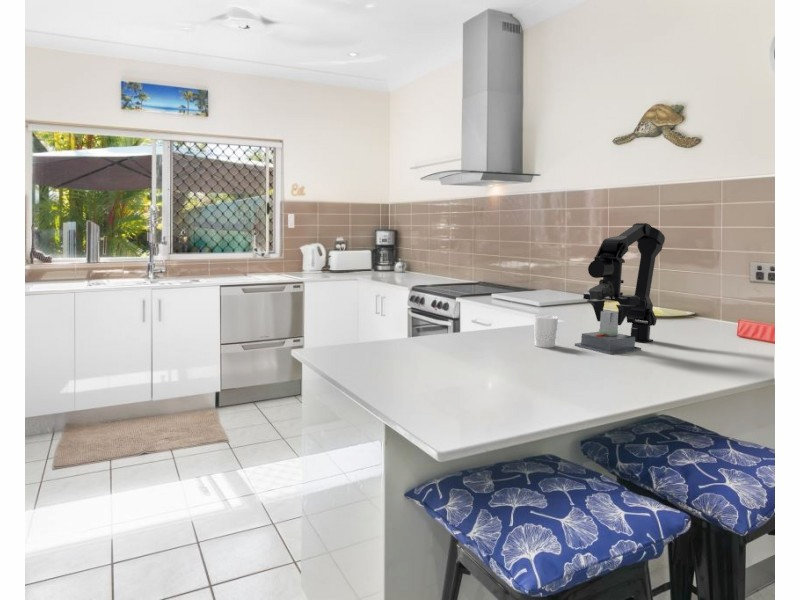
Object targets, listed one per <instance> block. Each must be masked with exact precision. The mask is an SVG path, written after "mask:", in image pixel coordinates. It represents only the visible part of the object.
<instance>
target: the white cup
mask: <svg viewBox="0 0 800 600" xmlns="http://www.w3.org/2000/svg"><path fill="white" fill-rule="evenodd" d="M558 320H559V317H558V316H556V315H547V314H546V315H544V314H539V315H538V314H537V315H534V316H533V334H534V335H533V338H534V346H536V347H538V348H544V349H545V348H547V349H551V348H554V347H556V339H557V331H558V324H559V323H558V322H559V321H558Z"/></svg>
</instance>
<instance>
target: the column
mask: <svg viewBox="0 0 800 600" xmlns="http://www.w3.org/2000/svg"><path fill="white" fill-rule="evenodd" d="M618 328H619V325H618V311H615V310H603V311H601V317H600V321H599V329H598V332H599V334H604V336H608V337H610V336H617V333H618V334H619V329H618Z"/></svg>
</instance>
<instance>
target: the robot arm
mask: <svg viewBox="0 0 800 600" xmlns="http://www.w3.org/2000/svg"><path fill="white" fill-rule="evenodd" d="M665 240H666V237H665V234H664V233H662V231H661V230H660V229H657V228H655V227H653V226H651V224H650V223H648V222H636V223H634V224H632V226H631V227H629V228H628V229H627V230H625V231H623V232H622V233H620V234H619V235H617V236H616V235H615V236H611V237H610V236H609V237H606V238H604V240H602V243H600V246H599V248H598V250H597V253H596V255H595V256H594V258H593V259H594V260H592V261H591V262H590V263H589V265H588V268H587V270H588V274H589V276H591V278H593V279H594V278H595V279H599V283H598V284H597V285H594V286H593V287H591V288H589V289H588V290H585V291H584V292H583V297H582V298H583V300H586V302H587V303H589V304H590V305H591V306H592V308H593V311H594V314H595V317H596V321H597V322H600V317H601V311H604V308H605V307H604V306H605V301H612V302H618V304H616V305H615V306H616V308H617V312H618V326H621V325H622V324H623V322H624V320H625V319H626V323H627V324H631V328H630V336H633V337H635V342H639V343H647V342H648V343H649V342H653V341H654V339H652V338H650V335H651V327H652V326H656V325H657V324H656V323H657V317H656V315H655V311H653V308H654V304H653V302H652V300H651V298H650V295H651V288H652V281H653V276H654V270H655V264H656V263H655V262H656V257H657V256H658V255H659V254H660V253H661V251H662V250H663V246H664V244H665ZM635 242H637V248H638V251H639V254H640V260H639V266H638V271H637V277H636V285H635V291H634V295H632V294H624V293H623V291H622V292H621V288H622V286H621V285H622V284H624V282H625V281H624V279H622V270H623V264H625V263H626V261H625V259H624V258H623V257H624V256H625V255H626V254H627V253H628V252H629V247H630V246H631V245H633V244H634V243H635ZM600 278H602V279H600Z"/></svg>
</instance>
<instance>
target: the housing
mask: <svg viewBox="0 0 800 600" xmlns="http://www.w3.org/2000/svg"><path fill="white" fill-rule="evenodd" d="M580 340H581V342H577V343H574V347H578V348H582V349H585V350H591V351H595V352H598V353H602V354H607V355H610V356H611V355H616V354H625V353H632V352H639V351H642V347H638V346H635V345H636V341H635V337H633V336H631V335H627V334H623V333H619V332H618V333H617V336H610V337H608V336H604V334H599V331H595V332H592V331H591V332H585V333H581V339H580Z"/></svg>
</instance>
